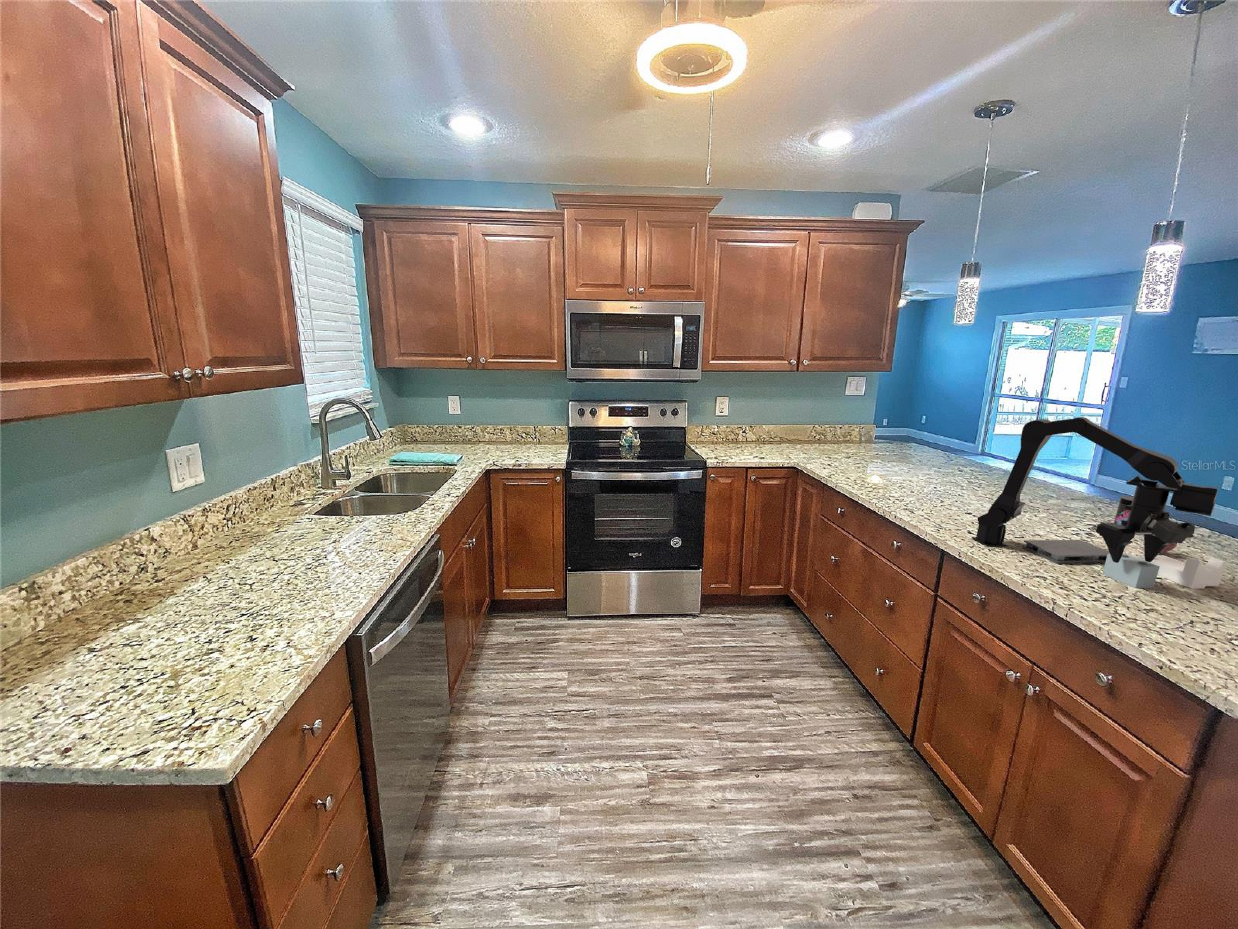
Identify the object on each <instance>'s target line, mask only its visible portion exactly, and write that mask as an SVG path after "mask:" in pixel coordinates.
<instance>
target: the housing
mask: <svg viewBox="0 0 1238 929" xmlns="http://www.w3.org/2000/svg"><path fill="white" fill-rule="evenodd" d="M1159 567H1160V566H1157V565H1155V564H1152V563H1149V562H1147V561H1144V560H1141V559H1139V557H1136V556H1133V555H1130V554H1127V553H1125V552H1123V554H1122V557H1121V559H1120V561H1119V562H1118V563H1116V562H1113V561H1112V558H1111V555H1110V554H1108V555H1107V558H1106V562H1105V563H1104V566H1103V570H1102V573H1101V574H1102V575H1104V576H1106V577H1109V578H1110V579H1113V580H1115V581H1118V582H1120V583H1122V584H1124V585H1127V586H1129V587H1132V588H1134V589H1153V588H1155V583H1156V581H1157V577H1158V575H1157V574H1158V571H1159Z"/></svg>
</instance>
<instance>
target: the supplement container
mask: <svg viewBox="0 0 1238 929" xmlns="http://www.w3.org/2000/svg"><path fill="white" fill-rule="evenodd" d="M1133 497H1134V496H1126V495H1124V496H1120V498H1119V500H1118V506H1117V508H1116V513H1115V517H1114V520H1113V523H1116V524H1119V525H1122V526H1125V527H1126V525H1123V524H1121V522H1122V520H1127V518H1128V515H1129V511H1130V510H1127V509H1125V507H1126V505H1131V504H1132V501H1133ZM1136 531H1137V530H1136Z"/></svg>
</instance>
